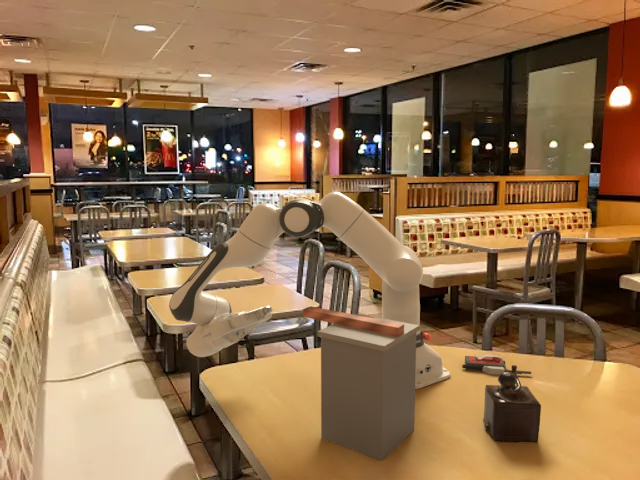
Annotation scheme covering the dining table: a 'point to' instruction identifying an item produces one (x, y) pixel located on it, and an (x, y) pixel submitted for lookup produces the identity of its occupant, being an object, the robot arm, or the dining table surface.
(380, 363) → the shelf block
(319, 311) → the copper-colored stick
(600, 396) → the dining table surface
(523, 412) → the manual coffee grinder
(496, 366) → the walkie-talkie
